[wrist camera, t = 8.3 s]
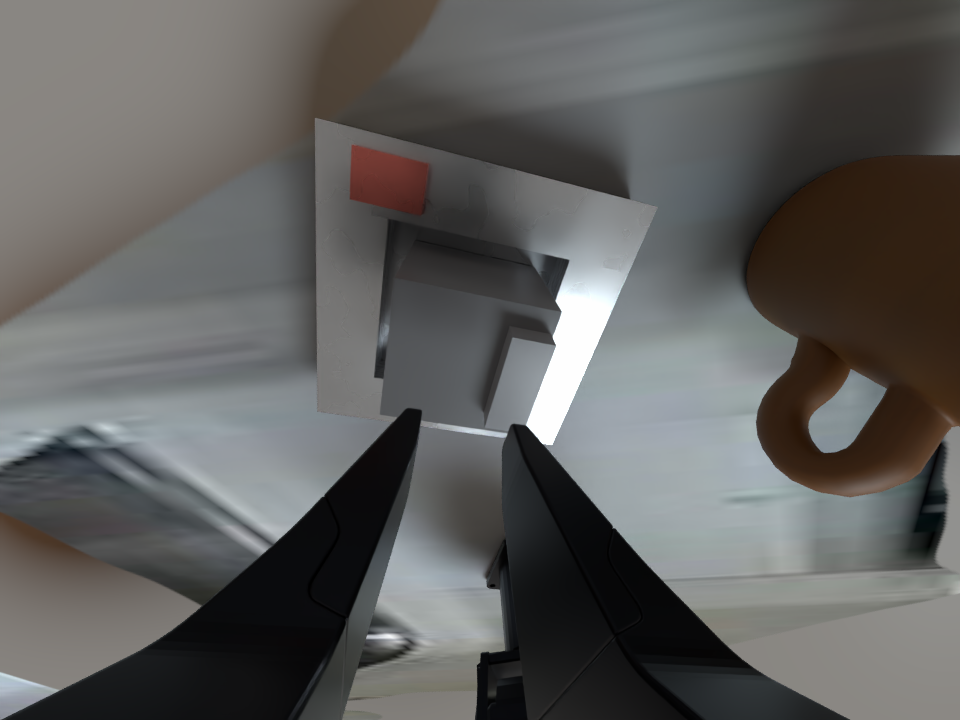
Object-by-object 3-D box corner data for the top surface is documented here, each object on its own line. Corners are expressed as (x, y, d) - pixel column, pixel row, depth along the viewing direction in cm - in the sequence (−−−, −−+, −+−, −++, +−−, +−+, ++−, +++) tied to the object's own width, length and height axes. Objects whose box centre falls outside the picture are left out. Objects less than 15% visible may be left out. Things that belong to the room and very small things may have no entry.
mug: (722, 402, 21) (886, 560, 13) (635, 338, 18) (771, 485, 10) (944, 226, 16) (1436, 302, 8) (867, 109, 14) (1465, 46, 5)
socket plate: (543, 415, 21) (554, 453, 18) (333, 383, 19) (312, 419, 16) (630, 199, 15) (666, 209, 12) (338, 122, 13) (307, 115, 10)
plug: (503, 366, 18) (519, 449, 13) (400, 348, 17) (374, 429, 12) (534, 267, 15) (568, 323, 10) (415, 240, 14) (389, 286, 9)
